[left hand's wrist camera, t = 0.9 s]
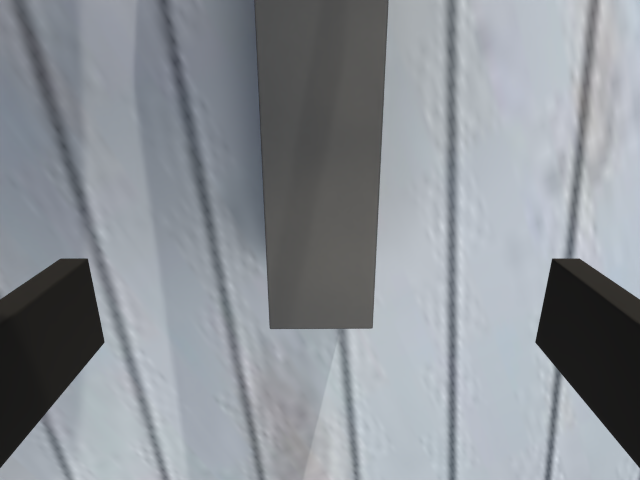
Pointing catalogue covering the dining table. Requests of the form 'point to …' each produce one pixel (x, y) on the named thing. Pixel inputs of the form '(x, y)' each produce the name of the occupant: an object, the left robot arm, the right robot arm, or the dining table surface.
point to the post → (321, 157)
